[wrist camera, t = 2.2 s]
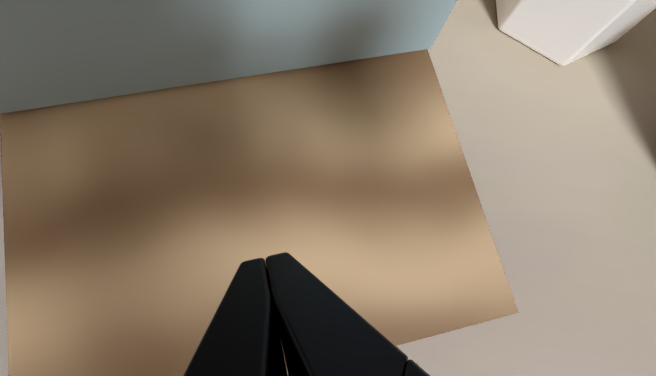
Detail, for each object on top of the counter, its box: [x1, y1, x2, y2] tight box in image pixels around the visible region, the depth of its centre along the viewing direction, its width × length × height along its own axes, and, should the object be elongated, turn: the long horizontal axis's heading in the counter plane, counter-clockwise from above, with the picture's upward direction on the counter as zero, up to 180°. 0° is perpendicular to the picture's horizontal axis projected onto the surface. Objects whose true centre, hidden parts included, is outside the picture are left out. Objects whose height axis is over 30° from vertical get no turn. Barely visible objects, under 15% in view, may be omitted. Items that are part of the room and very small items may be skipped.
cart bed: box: [0, 49, 518, 376], centre depth 19 cm, size 13×18×5 cm
